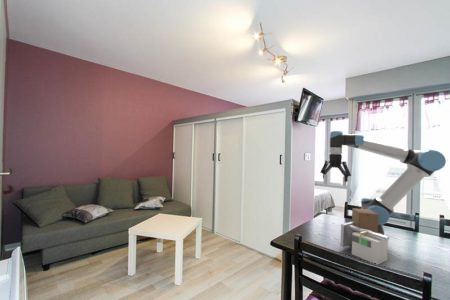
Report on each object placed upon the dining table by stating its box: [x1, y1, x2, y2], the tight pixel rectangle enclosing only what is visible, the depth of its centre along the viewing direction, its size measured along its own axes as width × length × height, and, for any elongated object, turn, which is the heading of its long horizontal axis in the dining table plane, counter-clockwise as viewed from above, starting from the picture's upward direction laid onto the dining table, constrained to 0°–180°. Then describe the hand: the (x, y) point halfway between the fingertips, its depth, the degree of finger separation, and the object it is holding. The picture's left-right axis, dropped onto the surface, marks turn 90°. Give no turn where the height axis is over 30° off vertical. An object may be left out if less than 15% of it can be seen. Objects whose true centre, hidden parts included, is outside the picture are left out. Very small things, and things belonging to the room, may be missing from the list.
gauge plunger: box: [339, 221, 390, 248], centre depth 109 cm, size 13×20×12 cm, turn 30°
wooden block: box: [351, 207, 378, 233], centre depth 122 cm, size 10×10×20 cm
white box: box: [351, 231, 389, 265], centre depth 108 cm, size 10×12×11 cm
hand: (334, 185), depth 142 cm, fingers open, 13 cm apart
